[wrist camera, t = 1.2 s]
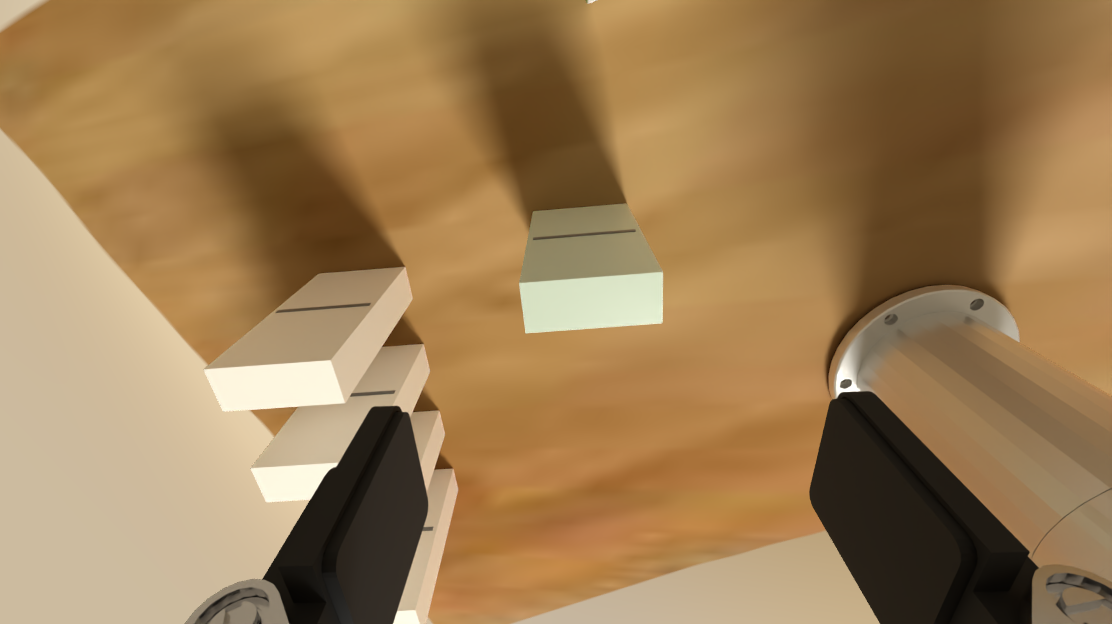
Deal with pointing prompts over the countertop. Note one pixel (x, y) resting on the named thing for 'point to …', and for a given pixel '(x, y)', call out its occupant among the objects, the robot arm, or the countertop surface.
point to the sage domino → (589, 271)
